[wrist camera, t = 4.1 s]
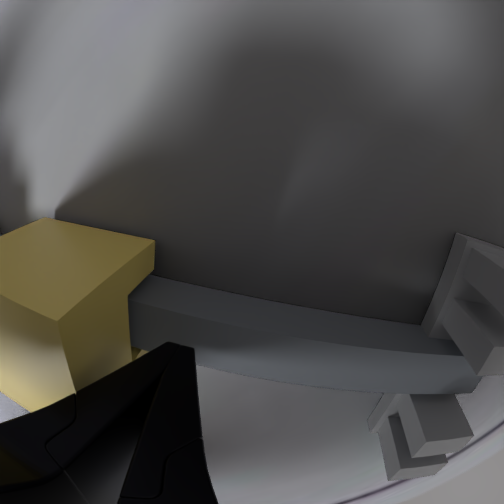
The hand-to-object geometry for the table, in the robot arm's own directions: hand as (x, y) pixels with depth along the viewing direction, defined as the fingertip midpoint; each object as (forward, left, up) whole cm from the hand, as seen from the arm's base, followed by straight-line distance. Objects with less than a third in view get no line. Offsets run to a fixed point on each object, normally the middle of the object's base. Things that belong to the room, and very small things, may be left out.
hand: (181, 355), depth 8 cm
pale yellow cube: (0, +4, -2) cm, 5 cm away
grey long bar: (0, +3, -2) cm, 4 cm away
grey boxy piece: (0, -9, -2) cm, 10 cm away
